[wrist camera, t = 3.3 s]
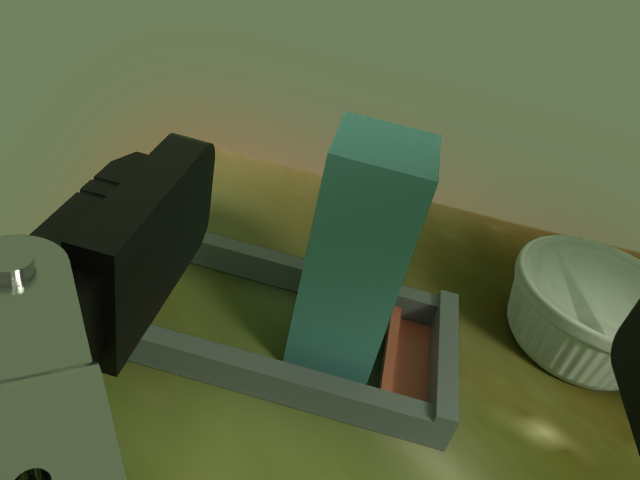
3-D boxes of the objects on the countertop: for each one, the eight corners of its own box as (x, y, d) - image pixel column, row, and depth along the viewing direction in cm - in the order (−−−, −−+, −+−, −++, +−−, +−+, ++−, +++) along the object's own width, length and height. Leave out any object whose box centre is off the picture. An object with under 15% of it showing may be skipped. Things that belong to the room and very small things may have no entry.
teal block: (375, 329, 37) (441, 135, 29) (365, 388, 33) (438, 181, 25) (300, 309, 38) (345, 111, 29) (281, 365, 34) (327, 152, 25)
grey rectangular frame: (447, 321, 39) (458, 294, 38) (444, 451, 31) (459, 422, 29) (178, 247, 40) (180, 218, 39) (104, 353, 32) (102, 321, 30)
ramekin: (459, 307, 41) (486, 248, 38) (559, 274, 47) (589, 221, 44) (585, 432, 34) (630, 373, 31) (685, 376, 40) (731, 321, 36)
